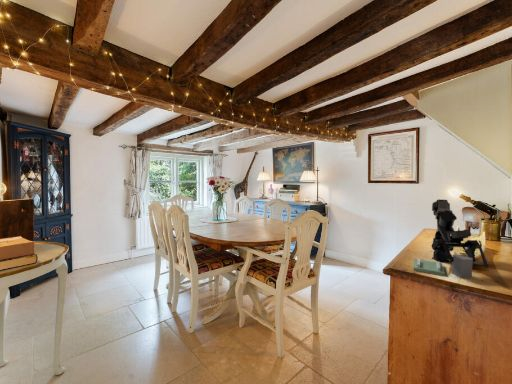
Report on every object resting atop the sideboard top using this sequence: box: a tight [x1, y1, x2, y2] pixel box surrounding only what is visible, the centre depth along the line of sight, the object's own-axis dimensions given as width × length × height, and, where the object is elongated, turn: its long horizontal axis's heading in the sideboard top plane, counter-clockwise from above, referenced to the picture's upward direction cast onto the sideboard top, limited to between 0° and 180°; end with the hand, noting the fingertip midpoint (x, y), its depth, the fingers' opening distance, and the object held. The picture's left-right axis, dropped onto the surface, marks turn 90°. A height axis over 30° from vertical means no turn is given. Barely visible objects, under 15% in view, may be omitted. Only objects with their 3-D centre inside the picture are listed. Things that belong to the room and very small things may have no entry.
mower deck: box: [413, 258, 445, 277], centre depth 123 cm, size 12×16×3 cm
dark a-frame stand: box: [472, 239, 490, 268], centre depth 130 cm, size 9×6×12 cm, turn 50°
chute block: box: [451, 254, 473, 279], centre depth 114 cm, size 5×5×9 cm
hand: (463, 261), depth 113 cm, fingers open, 9 cm apart
